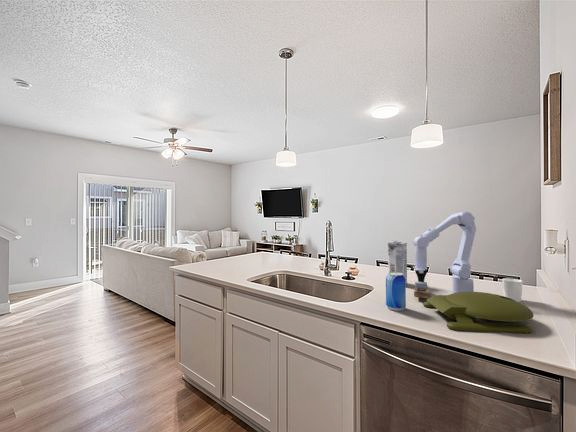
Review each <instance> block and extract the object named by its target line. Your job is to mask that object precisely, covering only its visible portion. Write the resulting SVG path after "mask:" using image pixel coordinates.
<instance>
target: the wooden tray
mask: <svg viewBox="0 0 576 432" xmlns="http://www.w3.org/2000/svg"><path fill="white" fill-rule="evenodd" d="M428 288H429V287H428V286H427V288H424V290H418V288H416V281H415V282H414V291H413V295H414V297H415V298H421V299H429V298H430V292H429V289H428Z"/></svg>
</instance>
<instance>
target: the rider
mask: <svg viewBox="0 0 576 432" xmlns="http://www.w3.org/2000/svg"><path fill="white" fill-rule="evenodd" d="M415 282H416V288H418V290H424V288H427V287H428V282H426V281H424V282H418V281H417V280H416V281H415Z"/></svg>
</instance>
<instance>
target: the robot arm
mask: <svg viewBox="0 0 576 432" xmlns="http://www.w3.org/2000/svg"><path fill="white" fill-rule="evenodd" d="M475 217H476V216H474V215H473V214H472V213H471V212H468V211H464V212H461V211H460V212H459V211H457V212H454V213H453V214H451V215H449V216H448V217H447V218H446V219H445V220H443V221H442V222H440V223H439V224H438V225H437V226H436V227H429V228H427V229H426V231H424V232H423V233H420V235H419V236H416V237H415V238H414V240H413V241H412V243H413V246H414V266H412V268H413V269H415V270H414V271H415V275H416V276H417V280H418V282H425V280H426V279H425V278H426V276H427V274H428V272H427V270H428V263H427V262H428V257H427V256H428V253H427V252H428V251H427V250H428V249H427V248H428V246H429V245H430V243H432V242H433V241H435V240H436V239H437V238H439V237H440V233H442V232H443V231H445V230H446V229H448V228H450V227H451V226H453V225H456V226H457V225H458V226H459V227H460V228H461V229H462V235H461V239H460V244H459V248H458V253H457V256H456V258H455V260H454V261H453V263H452V265H451V266H450V268H449V272H450V273H451V274H452V290H450V292H451V293H450V294H453V293H457V292H475V289H474V279H473V278H470V277H471V275H472V270H471V267H472V266H471V263H470V261H469V260H470V257H471V252H472V247H473V244H474V241H475V236H476V232H477V227H476V224H475V219H476V218H475Z"/></svg>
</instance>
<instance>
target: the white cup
mask: <svg viewBox="0 0 576 432" xmlns="http://www.w3.org/2000/svg"><path fill="white" fill-rule="evenodd" d="M501 282H502V293H503V296H504V297H507V298H510V299H513V300H515V301H516V302H519V303H521V302H522V296H523V295H522V294H523V280H522V279H518V278H509V277H505V278H502V280H501Z"/></svg>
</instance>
